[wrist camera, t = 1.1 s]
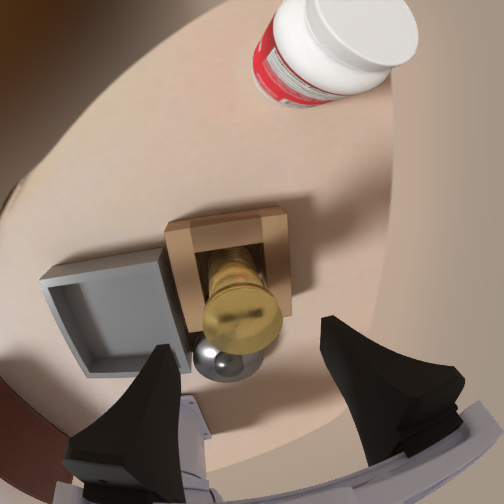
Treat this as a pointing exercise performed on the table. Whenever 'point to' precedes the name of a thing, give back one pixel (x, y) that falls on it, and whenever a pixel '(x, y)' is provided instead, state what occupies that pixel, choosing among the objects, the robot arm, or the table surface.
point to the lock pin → (239, 304)
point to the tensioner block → (224, 236)
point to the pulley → (223, 362)
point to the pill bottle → (331, 49)
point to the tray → (117, 312)
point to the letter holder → (30, 448)
